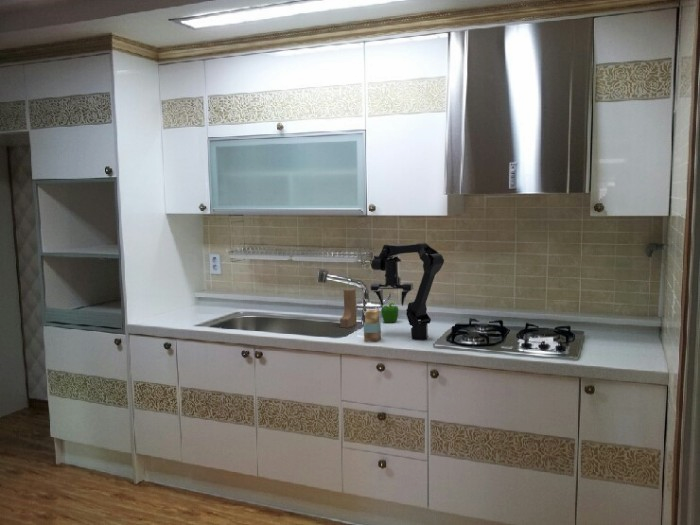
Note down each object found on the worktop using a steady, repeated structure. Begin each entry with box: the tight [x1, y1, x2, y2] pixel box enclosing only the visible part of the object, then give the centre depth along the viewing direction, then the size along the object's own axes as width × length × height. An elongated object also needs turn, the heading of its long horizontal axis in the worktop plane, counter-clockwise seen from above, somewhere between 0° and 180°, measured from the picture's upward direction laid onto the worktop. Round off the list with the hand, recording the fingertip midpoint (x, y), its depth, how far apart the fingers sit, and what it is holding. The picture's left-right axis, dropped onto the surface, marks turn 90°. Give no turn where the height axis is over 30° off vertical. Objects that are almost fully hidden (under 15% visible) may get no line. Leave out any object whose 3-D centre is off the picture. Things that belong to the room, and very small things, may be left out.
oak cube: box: [364, 309, 380, 323], centre depth 272 cm, size 5×5×5 cm
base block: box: [363, 330, 382, 343], centre depth 273 cm, size 6×6×4 cm
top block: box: [363, 320, 382, 334], centre depth 272 cm, size 6×6×4 cm
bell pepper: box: [381, 302, 399, 324], centre depth 311 cm, size 8×8×10 cm
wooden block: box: [339, 288, 358, 329], centre depth 305 cm, size 9×4×18 cm, turn 150°
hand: (392, 305), depth 283 cm, fingers open, 9 cm apart
